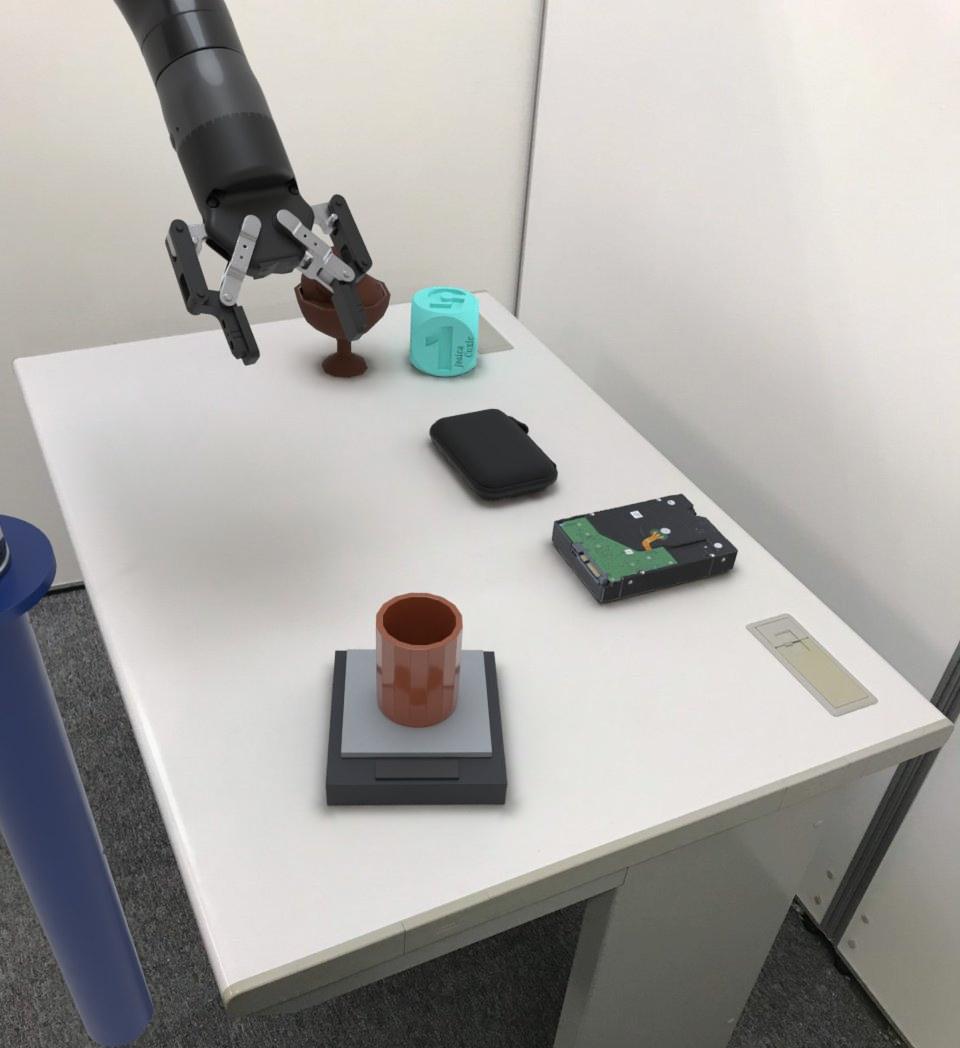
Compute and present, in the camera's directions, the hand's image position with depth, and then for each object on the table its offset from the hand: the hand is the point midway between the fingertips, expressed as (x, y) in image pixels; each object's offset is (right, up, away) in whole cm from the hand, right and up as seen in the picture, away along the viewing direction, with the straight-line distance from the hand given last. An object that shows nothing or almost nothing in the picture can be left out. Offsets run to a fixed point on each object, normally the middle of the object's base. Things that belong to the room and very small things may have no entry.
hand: (306, 349), depth 74 cm
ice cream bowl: (-4, +12, +48) cm, 49 cm away
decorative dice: (+8, +13, +50) cm, 52 cm away
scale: (+8, -29, +4) cm, 30 cm away
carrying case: (+15, -3, +34) cm, 37 cm away
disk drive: (+28, -14, +23) cm, 39 cm away
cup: (+8, -26, +3) cm, 27 cm away
